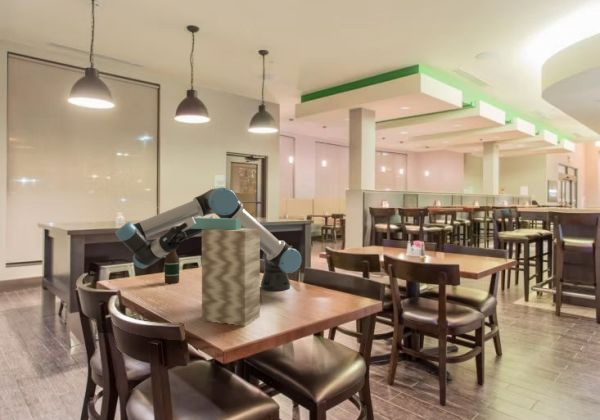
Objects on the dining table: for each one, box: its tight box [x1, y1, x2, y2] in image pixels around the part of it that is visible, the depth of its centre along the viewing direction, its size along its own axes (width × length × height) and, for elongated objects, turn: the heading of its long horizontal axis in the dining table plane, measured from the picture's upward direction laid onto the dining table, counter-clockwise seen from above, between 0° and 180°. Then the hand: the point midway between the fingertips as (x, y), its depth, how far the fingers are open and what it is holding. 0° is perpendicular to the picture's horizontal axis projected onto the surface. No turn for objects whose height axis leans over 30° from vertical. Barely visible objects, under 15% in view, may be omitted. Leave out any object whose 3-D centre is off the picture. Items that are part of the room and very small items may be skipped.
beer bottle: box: [164, 249, 180, 285], centre depth 209 cm, size 8×8×24 cm
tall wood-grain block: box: [201, 228, 261, 327], centre depth 146 cm, size 18×12×34 cm, turn 70°
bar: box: [189, 217, 241, 230], centre depth 148 cm, size 20×4×4 cm, turn 70°
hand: (204, 219), depth 149 cm, fingers open, 13 cm apart
